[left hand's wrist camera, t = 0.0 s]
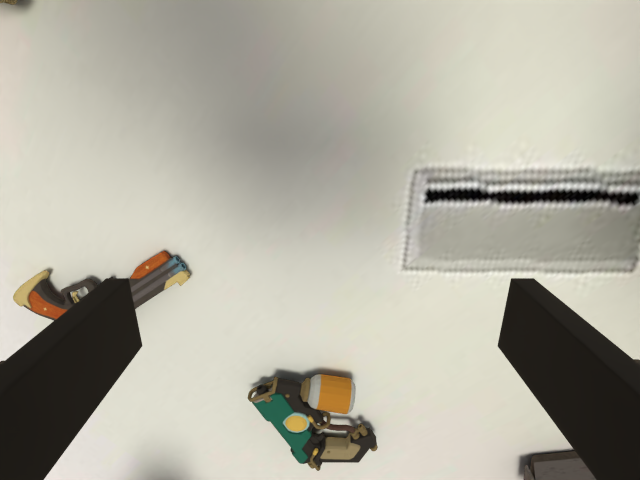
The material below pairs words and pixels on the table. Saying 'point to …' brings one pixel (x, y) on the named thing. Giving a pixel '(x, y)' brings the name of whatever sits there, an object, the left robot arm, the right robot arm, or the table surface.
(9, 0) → the sculpture
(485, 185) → the table surface
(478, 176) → the table surface
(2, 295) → the table surface
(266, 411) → the spray gun
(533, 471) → the toy
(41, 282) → the toy gun
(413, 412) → the table surface
